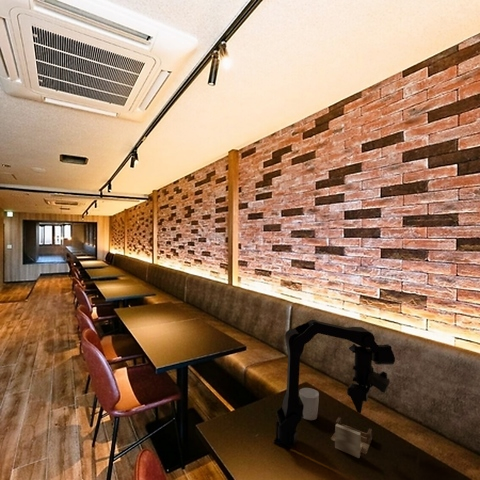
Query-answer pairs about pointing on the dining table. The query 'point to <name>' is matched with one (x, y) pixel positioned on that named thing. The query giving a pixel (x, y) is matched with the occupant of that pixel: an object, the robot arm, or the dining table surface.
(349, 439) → the birch sheet
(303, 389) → the white cup
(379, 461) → the dining table surface
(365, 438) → the rack
